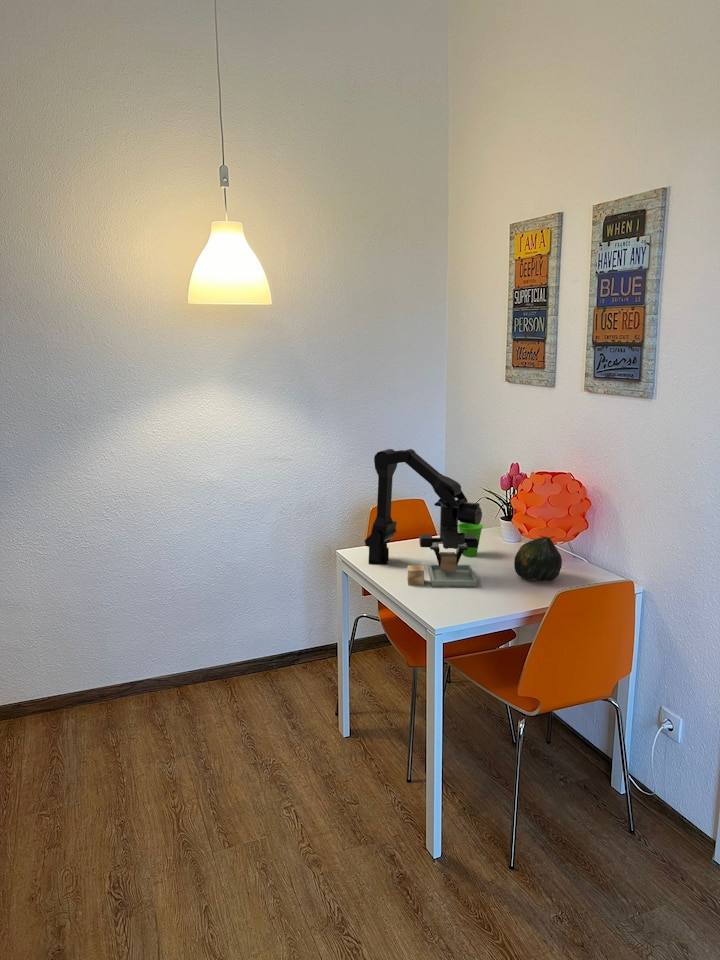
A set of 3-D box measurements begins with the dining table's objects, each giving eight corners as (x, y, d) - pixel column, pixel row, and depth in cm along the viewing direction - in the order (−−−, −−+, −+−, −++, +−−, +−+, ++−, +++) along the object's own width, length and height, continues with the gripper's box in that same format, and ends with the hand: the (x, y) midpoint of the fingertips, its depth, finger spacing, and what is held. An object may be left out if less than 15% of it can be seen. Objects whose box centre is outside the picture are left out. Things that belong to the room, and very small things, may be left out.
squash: (501, 556, 232) (522, 531, 221) (537, 552, 238) (559, 528, 227) (518, 593, 224) (541, 570, 213) (555, 588, 230) (579, 565, 219)
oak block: (408, 585, 221) (408, 570, 219) (407, 580, 225) (407, 565, 224) (423, 585, 220) (424, 570, 219) (422, 580, 225) (423, 565, 224)
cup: (480, 551, 255) (482, 522, 253) (482, 559, 246) (483, 529, 244) (456, 550, 256) (457, 521, 253) (457, 558, 247) (458, 528, 245)
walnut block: (439, 566, 232) (439, 552, 231) (454, 566, 231) (454, 552, 230) (440, 571, 227) (441, 556, 226) (456, 571, 227) (456, 557, 226)
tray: (432, 587, 219) (432, 581, 218) (428, 570, 235) (428, 564, 234) (476, 587, 219) (477, 581, 218) (470, 570, 234) (470, 564, 234)
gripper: (421, 526, 218) (421, 574, 221) (481, 527, 218) (479, 574, 221) (419, 517, 229) (418, 562, 232) (476, 517, 228) (474, 563, 232)
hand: (447, 566), depth 229 cm, fingers closed on walnut block, 5 cm apart
